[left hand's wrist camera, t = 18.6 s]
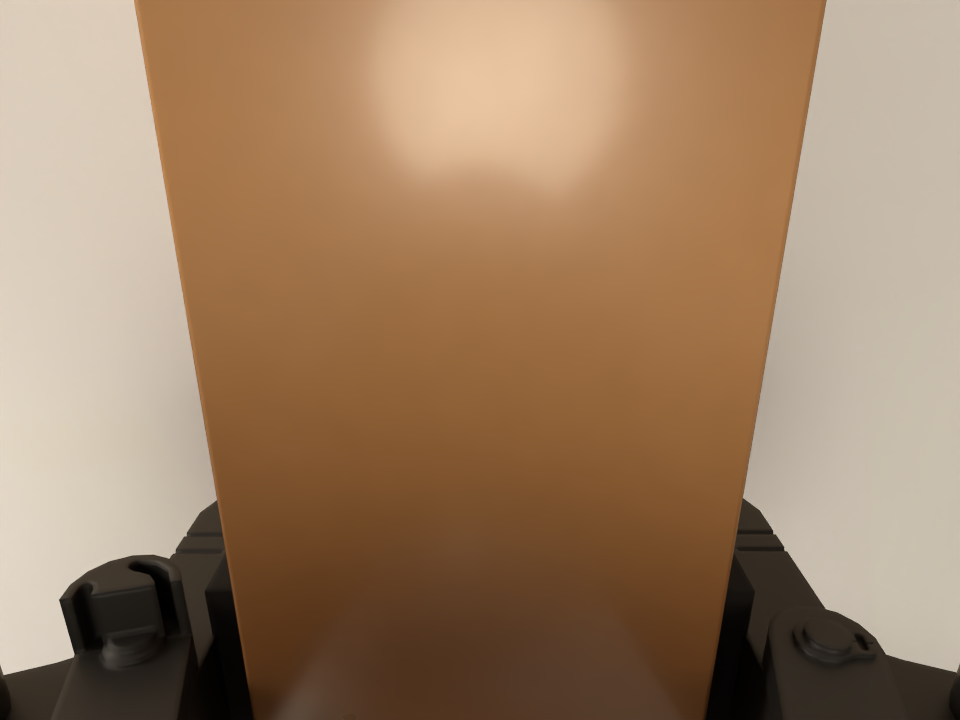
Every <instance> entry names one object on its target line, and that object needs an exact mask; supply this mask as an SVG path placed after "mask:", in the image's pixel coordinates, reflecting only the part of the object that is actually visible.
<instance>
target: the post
mask: <svg viewBox="0 0 960 720" xmlns="http://www.w3.org/2000/svg"><path fill="white" fill-rule="evenodd" d="M134 2H135V8H136V14H137V20H138V26H139V32H140V38H141V44H142V50H143V56H144V62H145V68H146V74H147V80H148V86H149V92H150V98H151V105H152V111H153V117H154V123H155V129H156V135H157V141H158V147H159V153H160V159H161V165H162V171H163V177H164V183H165V189H166V195H167V201H168V207H169V213H170V219H171V225H172V231H173V237H174V243H175V249H176V255H177V261H178V267H179V273H180V279H181V285H182V291H183V297H184V303H185V309H186V315H187V321H188V327H189V333H190V339H191V345H192V351H193V357H194V363H195V369H196V375H197V381H198V387H199V393H200V399H201V405H202V411H203V418H204V424H205V430H206V436H207V442H208V448H209V454H210V460H211V466H212V472H213V478H214V484H215V490H216V496H217V502H218V508H219V514H220V520H221V526H222V532H223V538H224V544H225V550H226V556H227V562H228V568H229V574H230V580H231V586H232V592H233V598H234V604H235V610H236V616H237V622H238V628H239V634H240V640H241V646H242V652H243V658H244V664H245V670H246V676H247V682H248V688H249V694H250V700H251V706H252V712H253V718H254V720H705V719H706V713H707V707H708V701H709V695H710V689H711V683H712V677H713V671H714V665H715V660H716V654H717V648H718V642H719V636H720V630H721V624H722V618H723V612H724V606H725V600H726V594H727V588H728V582H729V576H730V570H731V564H732V558H733V553H734V547H735V541H736V535H737V529H738V523H739V517H740V511H741V505H742V499H743V493H744V487H745V481H746V475H747V469H748V463H749V457H750V451H751V446H752V440H753V434H754V428H755V422H756V416H757V410H758V404H759V398H760V392H761V386H762V380H763V374H764V368H765V362H766V356H767V350H768V345H769V339H770V333H771V327H772V321H773V315H774V309H775V303H776V297H777V291H778V285H779V279H780V273H781V267H782V261H783V255H784V249H785V243H786V238H787V232H788V226H789V220H790V214H791V208H792V202H793V196H794V190H795V184H796V178H797V172H798V166H799V160H800V154H801V148H802V142H803V136H804V131H805V125H806V119H807V113H808V107H809V101H810V95H811V89H812V83H813V77H814V71H815V65H816V59H817V53H818V47H819V41H820V35H821V30H822V24H823V18H824V12H825V6H826V0H134Z"/></svg>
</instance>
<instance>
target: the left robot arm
mask: <svg viewBox="0 0 960 720" xmlns="http://www.w3.org/2000/svg"><path fill="white" fill-rule="evenodd" d="M59 601H60V604H61V608H62V611H63V615H64V618H65V622H66V625H67V629H68V632H69V636H70V639H71V643H72V646H73V650H74V653H75V655H74V658H71V659H67V660H64V661H61V662H58V663H54V664H50V665H45V666H41V667H37V668H33V669H28V670H24V671H20V672H16V673H12V674H7V675H3V672H2V669H1V666H0V720H254V718H253V712H252V706H251V700H250V694H249V688H248V682H247V676H246V670H245V664H244V658H243V652H242V646H241V640H240V634H239V628H238V622H237V616H236V610H235V604H234V598H233V592H232V586H231V580H230V574H229V568H228V562H227V556H226V550H225V544H224V538H223V532H222V526H221V520H220V514H219V508H218V502H217V501H215V502H214V503H213V504H211V505H210V506H209V507H207V508H206V509H205V510H203V511H202V512H201V513H200V514H199V515H198V517H197V518H196V520H195V521H194V523H193V524H192V526H191V527H190V529H189V530H188V532H187V537H184V538H183V539H182V541H181V542H180V544H179V545H178V547H177V549H176V553H175V554H173V555H172V556H171V558H170V559H168V558H164V557H160V556H156V555H136V556H129V557H125V558H121V559H117V560H113V561H110V562H107V563H105V564H103V565H101V566H99V567H97V568H95V569H92V570H90V571H88V572H87V573H85V574H84V575H83V576H81V577H80V578H79V579H77V580H76V581H75V582H73V583H72V584H71V585H70V586H69V587H68V589H67V590H66V591H65V593H64V594H63V595H62V597H61V598H60V599H59ZM705 720H960V665H959V668H958V671H957V673H956V672H952V671H948V670H943V669H939V668H935V667H931V666H926V665H922V664H918V663H914V662H909V661H905V660H902V659H898V658H895V657H892V656H889V655H886V654H885V652H884V651H883V649H882V648H881V646H880V645H879V643H878V641H877V640H876V638H875V637H874V636H872V635H871V634H870V633H869V632H868V631H867V630H865V629H864V628H863V627H862V626H861V625H859V624H858V623H856V622H854V621H853V620H851V619H849V618H847V617H845V616H843V615H841V614H839V613H837V612H833V611H830V610H826V609H825V607H824V606H823V604H822V603H821V602H820V600H819V599H818V597H817V596H816V594H815V593H814V591H813V590H812V588H811V587H810V585H809V584H808V582H807V581H806V579H805V578H804V576H803V575H802V573H801V572H800V570H799V569H798V567H797V566H796V564H795V563H794V561H793V560H792V558H791V557H790V555H789V554H788V552H787V551H784V546H783V545H782V543H781V542H780V540H779V539H778V537H777V536H776V535H775V534H773V530H772V528H771V527H770V525H769V524H768V522H767V521H766V519H765V518H764V516H763V515H762V513H761V512H760V510H758V509H757V508H756V507H754V506H753V505H751V504H750V503H749V502H747V501H746V500H745V499H742V505H741V511H740V517H739V523H738V529H737V535H736V541H735V547H734V553H733V558H732V564H731V570H730V576H729V582H728V588H727V594H726V600H725V606H724V612H723V618H722V624H721V630H720V636H719V642H718V648H717V654H716V660H715V665H714V671H713V677H712V683H711V689H710V695H709V701H708V707H707V713H706V719H705Z"/></svg>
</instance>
